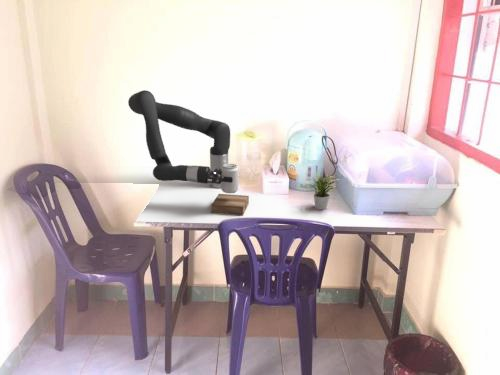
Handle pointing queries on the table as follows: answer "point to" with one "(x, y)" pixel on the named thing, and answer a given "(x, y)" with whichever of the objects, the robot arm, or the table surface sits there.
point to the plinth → (230, 204)
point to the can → (230, 171)
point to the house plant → (322, 191)
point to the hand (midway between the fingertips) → (234, 177)
